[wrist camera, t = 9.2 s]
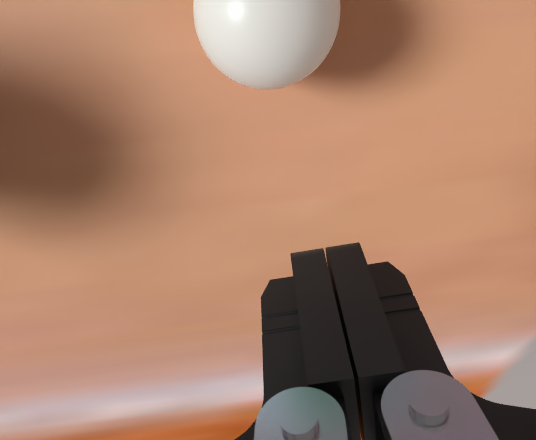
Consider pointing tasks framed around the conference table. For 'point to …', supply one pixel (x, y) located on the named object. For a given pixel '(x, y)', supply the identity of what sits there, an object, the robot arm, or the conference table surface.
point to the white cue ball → (266, 38)
